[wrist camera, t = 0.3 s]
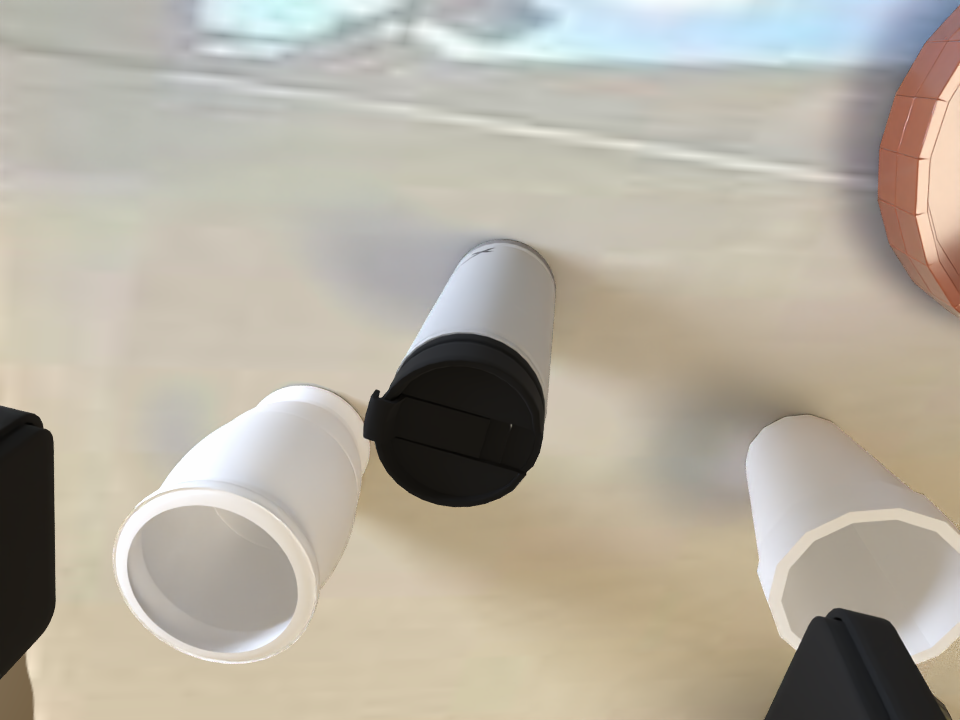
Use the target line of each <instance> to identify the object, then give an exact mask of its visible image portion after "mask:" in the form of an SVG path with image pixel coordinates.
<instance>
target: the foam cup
mask: <svg viewBox="0 0 960 720" xmlns="http://www.w3.org/2000/svg"><path fill="white" fill-rule="evenodd" d="M745 466H746V475H747V482H748V488H749V495H750V501H751V508H752V515H753V521H754V528H755V535H756V541H757V548H758V555H759V565H758V569H757V573H758V576H759V579H760V582H761V585H762V588H763V590H764V593H765V596H766V599H767V602H768V605H769V608H770V610H771V613H772V616H773V619H774V622H775V624H776V627H777V630H778V633H779V635H780V637H781V638H782V639H784V640H785V641H786V642H787V643H788V644H789V645H791V646H792V647H793V648H794V649H795V650H796V651H797V649H798V647H799V644H800V642H801V640H802V638H803V636H804V634H805V632H806V630H807V627H808V625H809V624H810V622H811V620H812V619H813V618H815V617H816V616H822V617H826V615H827V614H828V613H829V612H830V611H831V610H832V609H834V608H842V609H847V610H851V611H855V612H859V613H863V614H867V615H871V616H876V617H880V618H884V619H886V620H888V621H890V622H891V624H892V625H893V626H894V627H895V629H896V631H897V633H898V634H899V636H900V638H901V640H902V641H903V643H904V645H905V647H906V648H907V650H908V652H909V654H910V655H911V657H912V659H913V661H914V663H915V664H919V663H921V662H924V661H926V660H929V659H931V658H934V657H936V656H939V655H940V654H942V653H943V652H944V651H945V650H946V649H947V648H948V647H949V646H950V645H951V644H952V643H953V642H954V641H955V640H957V639H958V638H959V637H960V531H959V530H958V528H957V527H956V526H955V525H954V523H953V522H952V521H951V520H950V519H949V518H948V517H947V516H946V515H944V514H943V513H942V512H941V511H940V510H939V509H938V508H937V507H936V506H935V505H934V504H933V503H932V502H931V501H930V500H929V499H928V498H927V497H926V496H925V495H924V494H921V493H918V492H914V491H912V490H911V489H910V488H909V487H908V486H907V485H905V484H904V483H903V482H902V481H901V480H900V479H898V478H897V477H896V476H895V475H894V474H893V473H891V472H890V471H889V470H888V469H887V468H886V467H884V466H883V465H882V464H881V463H880V462H879V461H877V460H876V459H875V458H874V457H873V456H872V455H870V454H869V453H868V452H867V451H866V450H865V449H863V448H862V447H861V446H860V445H859V444H858V443H856V442H855V441H854V440H853V439H852V438H851V437H849V436H848V435H847V434H846V433H845V432H843V431H842V430H841V429H840V428H839V427H838V426H836V425H835V424H833V423H832V422H831V421H829V420H825V419H822V418H819V417H816V416H812V415H809V414H808V415H798V416H788V417H783V418H781V419H780V420H778V421H776V422H774V423H772V424H770V425H768V426H766V427H764V428H763V429H762V430H761V432H760V433H759V434H758V435H757V437H756V438H755V439H754V440H753V441H752V443H751V444H750V445H749V450H748V455H747V459H746V464H745Z"/></svg>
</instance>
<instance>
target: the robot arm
mask: <svg viewBox="0 0 960 720" xmlns="http://www.w3.org/2000/svg"><path fill="white" fill-rule="evenodd" d="M55 602H56V595H55V516H54V442H53V436H52V434H51V432H50V431H48V430H47V429H43V423H42V421H41V419H40V417H38V416H37V415H35V414H33V413H29V412H24V411H20V410H16V409H12V408H8V407H4V406H0V679H1V678H2V677H3V676H4V675H5V674H6V673H7V672H8V670H10V668H11V667H12V666H13V665H14V664H15V663H16V662H17V661H18V660H19V659H20V658H21V656H22V655H23V654H24V653H25V652H26V651H27V650H28V649H29V648H30V647H31V646H32V645H33V644H34V643H35V642H36V640H37V639H38V638H39V637H40V636H41V635H42V634H43V632H44V631H45V630H46V628H47V626H48V625H49V623H50V621H51V618H52V616H53V613H54V609H55ZM764 720H947V719H946V717H945V716H944V714H943V712H942V710H941V708H940V707H939V705H938V703H937V701H936V700H935V698H934V696H933V694H932V693H931V691H930V689H929V687H928V686H927V684H926V682H925V680H924V678H923V677H922V675H921V673H920V671H919V670H918V668H917V666H916V664H915V663H914V661H913V659H912V657H911V655H910V654H909V652H908V650H907V648H906V647H905V645H904V643H903V641H902V640H901V638H900V636H899V634H898V633H897V631H896V629H895V627H894V626H893V625H892V624H891V622H890V621H888V620H886V619H884V618H880V617H876V616H871V615H867V614H863V613H859V612H855V611H851V610H847V609H842V608H834V609H832V610H831V611H830V612H829V613H828V614H827V615H826V617H822V616H816V617H815V618H813V619H812V620H811V622H810V624H809V625H808V627H807V630H806V632H805V634H804V636H803V638H802V640H801V642H800V644H799V647H798V649H797V651H796V653H795V655H794V657H793V659H792V662H791V664H790V666H789V668H788V670H787V672H786V674H785V676H784V679H783V681H782V683H781V685H780V687H779V689H778V691H777V694H776V696H775V698H774V700H773V702H772V704H771V706H770V709H769V711H768V713H767V715H766V717H765V719H764Z"/></svg>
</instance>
